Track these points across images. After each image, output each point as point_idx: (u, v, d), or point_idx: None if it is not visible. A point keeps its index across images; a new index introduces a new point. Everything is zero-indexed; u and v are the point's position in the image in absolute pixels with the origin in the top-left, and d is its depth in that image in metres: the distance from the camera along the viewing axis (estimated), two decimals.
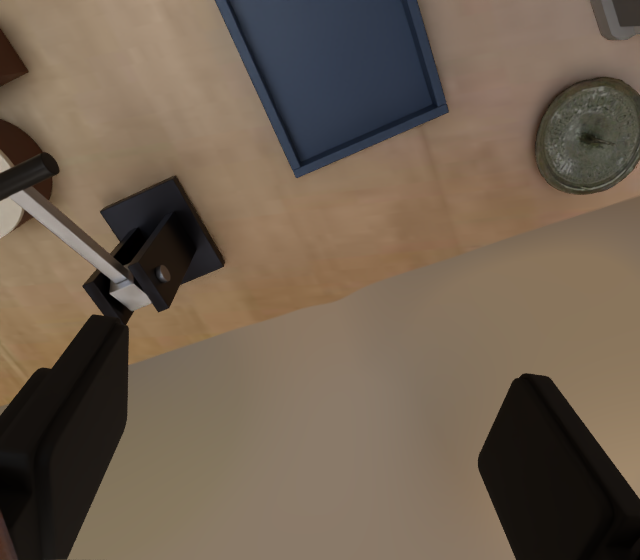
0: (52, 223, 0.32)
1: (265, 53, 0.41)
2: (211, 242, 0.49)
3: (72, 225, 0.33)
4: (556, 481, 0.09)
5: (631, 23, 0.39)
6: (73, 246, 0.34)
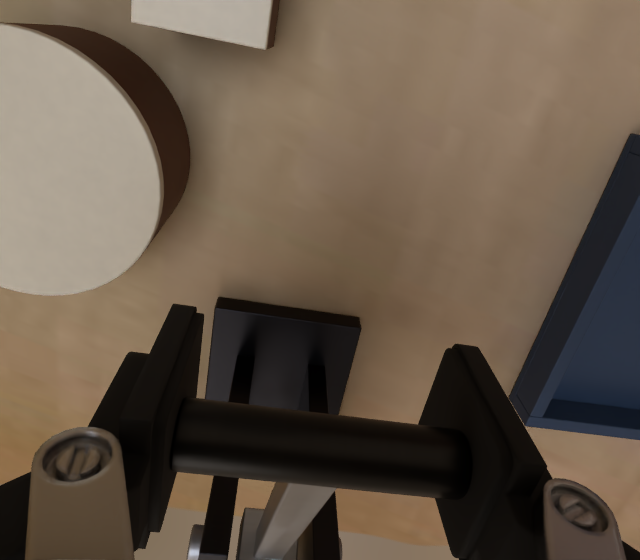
0: (298, 514, 0.12)
1: None
2: None
3: None
4: (471, 439, 0.10)
5: None
6: (274, 531, 0.14)
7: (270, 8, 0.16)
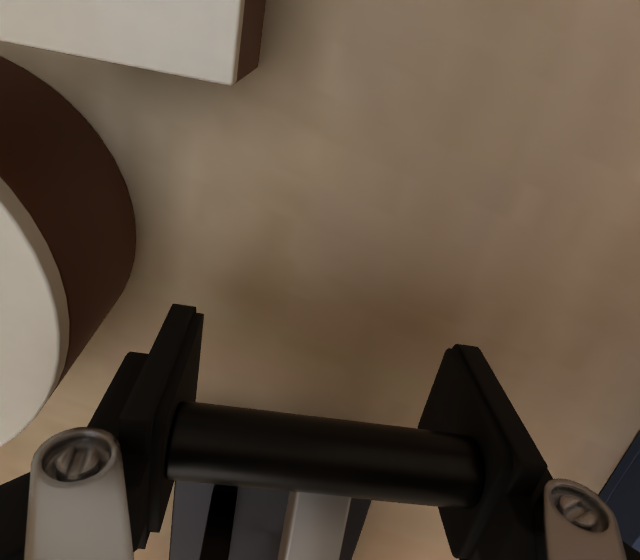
0: None
1: None
2: None
3: None
4: None
5: None
6: None
7: (239, 7, 0.08)
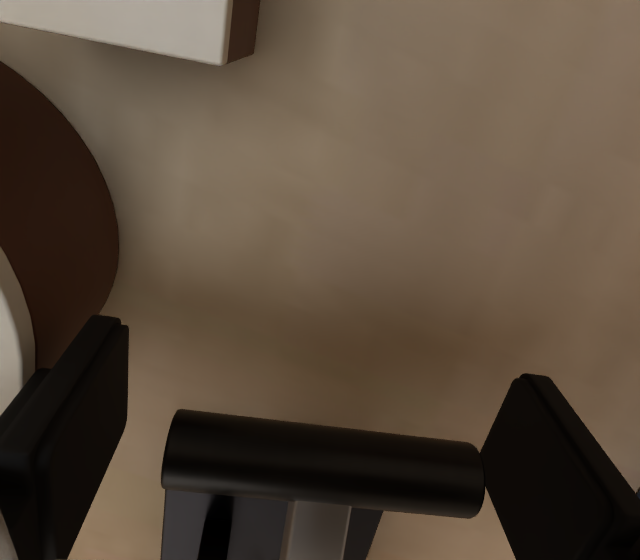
0: None
1: None
2: None
3: None
4: (556, 481, 0.09)
5: None
6: None
7: None
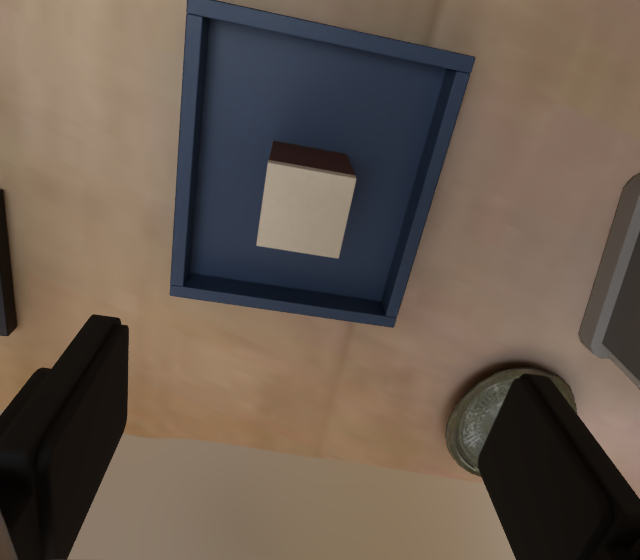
0: None
1: (218, 126, 0.28)
2: (8, 298, 0.32)
3: None
4: (556, 481, 0.09)
5: (616, 354, 0.33)
6: None
7: None
